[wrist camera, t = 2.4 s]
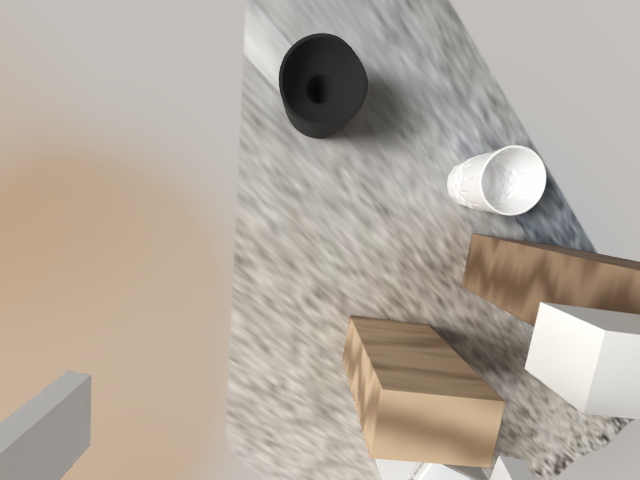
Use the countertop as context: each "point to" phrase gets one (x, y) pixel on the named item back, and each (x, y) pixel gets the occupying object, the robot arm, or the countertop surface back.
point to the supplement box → (426, 471)
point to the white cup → (499, 181)
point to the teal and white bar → (588, 358)
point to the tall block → (549, 277)
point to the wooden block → (419, 395)
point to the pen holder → (321, 84)
